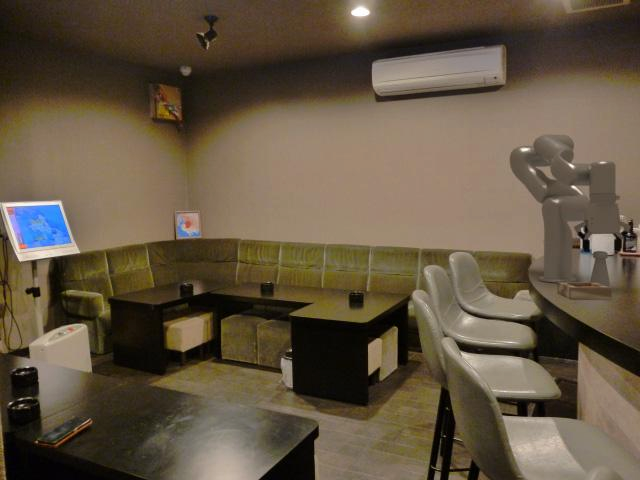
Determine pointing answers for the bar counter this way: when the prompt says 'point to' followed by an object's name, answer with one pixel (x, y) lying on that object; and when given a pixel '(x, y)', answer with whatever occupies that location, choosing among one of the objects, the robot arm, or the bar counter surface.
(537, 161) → the robot arm
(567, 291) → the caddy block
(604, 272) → the salt shaker
